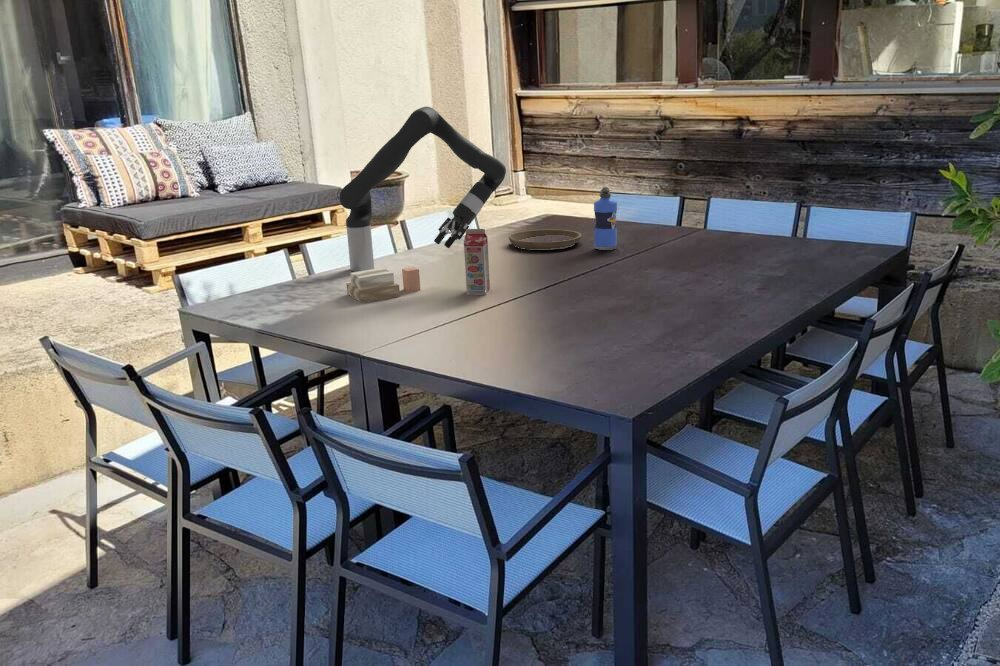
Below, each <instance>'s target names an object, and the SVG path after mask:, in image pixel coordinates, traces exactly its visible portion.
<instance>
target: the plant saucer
mask: <svg viewBox="0 0 1000 666" xmlns="http://www.w3.org/2000/svg"><path fill="white" fill-rule="evenodd" d="M545 235H565V236H570V237H573V239H569V240H563V241H552V242H529V241H519V240H522V239H526V238H530V237H536V236H545ZM582 236H583V235H582V233H580V232H579V231H573V230H568V229H555V228H554V229H553V228H552V229H550V228H549V229H532V230H522V231H518V232H513V233H511V234H510V235H508V240H509V242H510V243H511V244H512V245H513V246H514V247H515V246H516V247H519V248H525V249H551V248H560V247H565V246H570V245H573V244H575V243H578V242H579V241H580V240H581V238H582ZM516 247H515V248H516Z"/></svg>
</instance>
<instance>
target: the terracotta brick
mask: <svg viewBox="0 0 1000 666" xmlns="http://www.w3.org/2000/svg"><path fill="white" fill-rule="evenodd" d="M401 272H402V274H401V275H402V287H403V290H404V291H406V292H408V293H411V292H418V291H421V279H420V269H419V268H417V267H415V266H410V267H404V268H402V269H401Z"/></svg>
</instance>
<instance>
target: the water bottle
mask: <svg viewBox="0 0 1000 666" xmlns="http://www.w3.org/2000/svg"><path fill="white" fill-rule="evenodd" d="M611 193H612V192H611V190H610V189H609V187H606V186H605V187H602V188H601V189H600V193H599V199H598V200H596V201H594V202H593V211H594V218H595V219H594V220H595V224H594V247H595V246H597V247H612V246H616V245H617V246H618V239H617V238H618V236H617V235H618V229H617V228H618V227H617V222H616V221H617V220H616V219H617V211H618V202H617V201H616V200H614V199H611V195H612V194H611Z"/></svg>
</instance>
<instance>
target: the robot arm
mask: <svg viewBox="0 0 1000 666" xmlns="http://www.w3.org/2000/svg"><path fill="white" fill-rule="evenodd" d="M429 134H432V135H434V136H436V137H438V138H439V139H441V140H442V141H443V142H444V143H445V144H447V146H448V147H449V148H450V150H451V151H452V152H453V154H454V155H455V156H456V157H457V158H459V159H460V160H461V161H462V162H464V163H465V164H466V165H468V166H469V167H471V168H472V169H475V170H476V169H477V170H479V171H480V172H482V173H484V174H483V175H482V176H481V178H480V179H479V180H478V181H476V182H475V183H474V184H473V185H472V187H471V188H470V190H469V191H468V192H467V193H466V195H465V196H463V198H462V199H461V201H460V202H458V204H457V205H456V206H455V208H454V209H453V211H452V215H453V217H452V218H451V217H449V216H448V217H447V218H446V219H445V220H444V222H443V223H442V224H441V225H440V226H439V228H438V231H439V233H438V234H437V235H436V236H435V238H434V240H433V242H434V243H435V244H436V245H440V244H441V242H443V240H444V238H445V237H446V236H447V235H450V236H449V237H448V238H447V239H446V241H445V242H444V244H443V245H444V246H445V248H447V249H450V248H451V247H452V245H453V244H455V242H456V241H458V240H461V239H462V238H463V236H465V234H466V229H470V225H471V223H473V221H474V219H475V218H476V217H477V216H478V215H479V213H480V212H481V210H482V209H483V206H484V205H485V204H486V203H487V201H488V200H489V198H490V197H491V196H492V194H493V193H494V192H495V191H496V190H497V189H498V188H499V186H500V185H501V184H502V182H504V180H505V177H506V174H507V169H506V165H505V164H504V163H503V162H502V161H500V160H499V159H498V158H496V157H495V156H493V155H491V154H489V153H487V152H485V151H484V150H482V149H481V148H480V147H478V145H475V144H474V143H473V142H471V141H470V140H468V138H466V137H465V136H464V135H462V134H461V133H460V132H459V131H457V130H456V129H455V127H453V126H452V125H451V124H450V123H449V122H448V121H447V120H446V119H445V118H444V117H443V116H442V115H441V114H440V113H439V112H438V111H437V110H436V109H434V108H433V107H431V106H422V107H420V108H417V109H416V110H414V111H413V112H411V114H410V115H409V116H408V118H407V119H406V121H405V122H404V123H403V125H402V126H401V127H400V129H399V130H398V132H397V133H396V134H395V135H393V137H391V138H390V139H389V140H388V141H387V142H386V143H385V144H384V145H383V146H382V147H381V148H380V149H379V150H378V151H377V152H376V153H375V154H374V156H373V157H372V158H371V159H370V161H368V162H367V164H366V165H365V166H364V167H363V168H362V169H361V171H360V172H359V173H358V174H357V175H356V176H355V177H354V178H353V179H352V180H351V181H349V182H348V183H347V184H346V185H345V186H344V187H343V188H342V189H341V190H340V192H339V195H338V196H339V203H340V205H341V206H342V207H343V208H344V209H346V210H350V212H349V215H348V216H347V217H346V220H345V224H346V227H345V228H346V233H347V234H346V236H347V244H348V245H347V246H348V256H349V257H348V258H349V267H350V268H349V269H350V272H358V271H364V270H371V269H375V262H374V261H375V260H374V249H373V238H372V228H371V227H372V226H371V220H372V216H373V215H372V212H373V211H372V210H373V208H372V194H371V190H372V189H373V188H375V187H376V186H378V185H379V184H380V183H382V182H384V181H385V180H386V179H387V178H389V177H390V176H392V175H393V174H394V173H395V171H397V170H398V169H399V168H400V167H401V165H402V164H403V163H404V161H405V159H406V158H407V156H408V155H409V153H410V151H411V149H412V148H413V147H414V146H415V145H416V144H417V143H418V142H419V141H420V140H421V139H423V138H424V137H425V136H427V135H429Z"/></svg>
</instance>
